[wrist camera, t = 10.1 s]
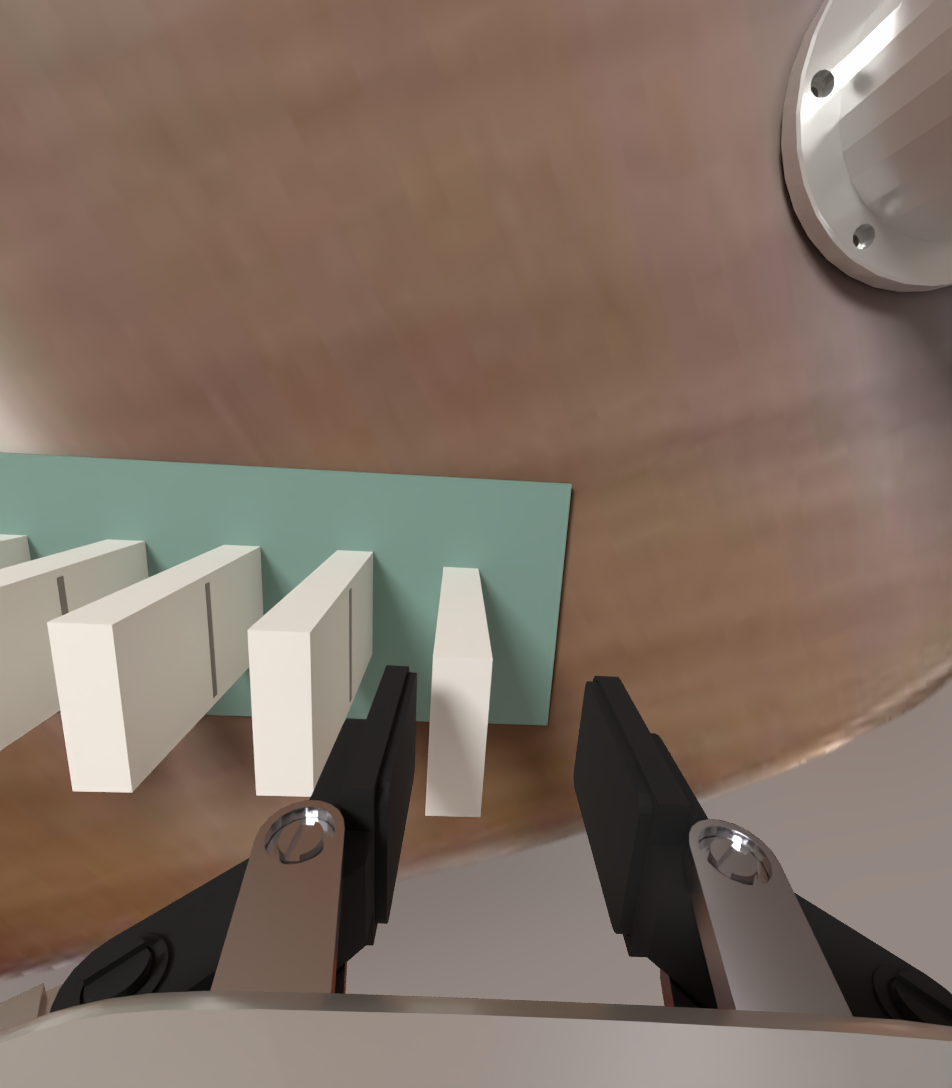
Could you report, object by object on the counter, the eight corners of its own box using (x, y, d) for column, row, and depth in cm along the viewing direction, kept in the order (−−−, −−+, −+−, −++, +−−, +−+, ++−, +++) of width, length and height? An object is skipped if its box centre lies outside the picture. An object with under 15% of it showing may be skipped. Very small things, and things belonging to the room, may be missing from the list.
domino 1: (145, 541, 20) (-93, 616, 12) (156, 646, 21) (-55, 788, 13) (106, 539, 20) (-163, 614, 12) (119, 644, 21) (-119, 786, 13)
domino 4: (479, 568, 21) (493, 659, 12) (472, 668, 22) (481, 816, 13) (442, 566, 21) (431, 656, 12) (437, 667, 22) (423, 815, 13)
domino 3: (373, 551, 21) (310, 632, 12) (372, 654, 22) (314, 796, 13) (336, 550, 21) (246, 629, 12) (337, 652, 22) (255, 795, 13)
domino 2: (261, 546, 21) (113, 624, 12) (265, 650, 22) (133, 792, 13) (222, 544, 21) (45, 622, 12) (229, 648, 22) (71, 791, 13)
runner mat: (569, 483, 21) (571, 484, 20) (545, 720, 23) (547, 725, 23) (-133, 445, 19) (-145, 445, 19) (-76, 701, 22) (-85, 706, 22)
